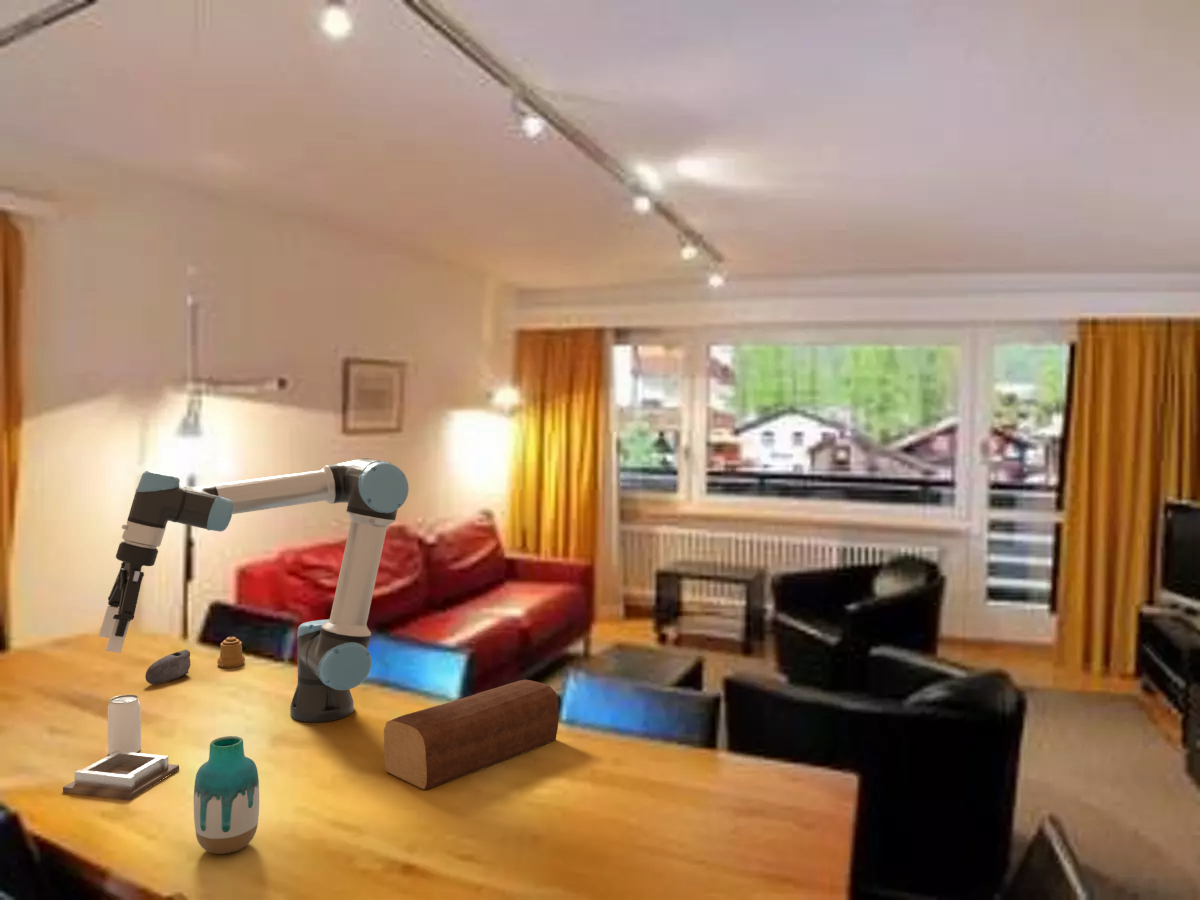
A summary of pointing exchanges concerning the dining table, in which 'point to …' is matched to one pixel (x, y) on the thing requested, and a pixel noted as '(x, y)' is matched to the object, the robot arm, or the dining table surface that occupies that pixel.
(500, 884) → the dining table surface
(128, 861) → the dining table surface
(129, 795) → the collar base
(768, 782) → the dining table surface
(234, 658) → the ornamental finial
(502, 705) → the bread
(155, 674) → the perforated stone tool
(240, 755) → the vase
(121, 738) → the can
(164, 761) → the grey hollow square frame
